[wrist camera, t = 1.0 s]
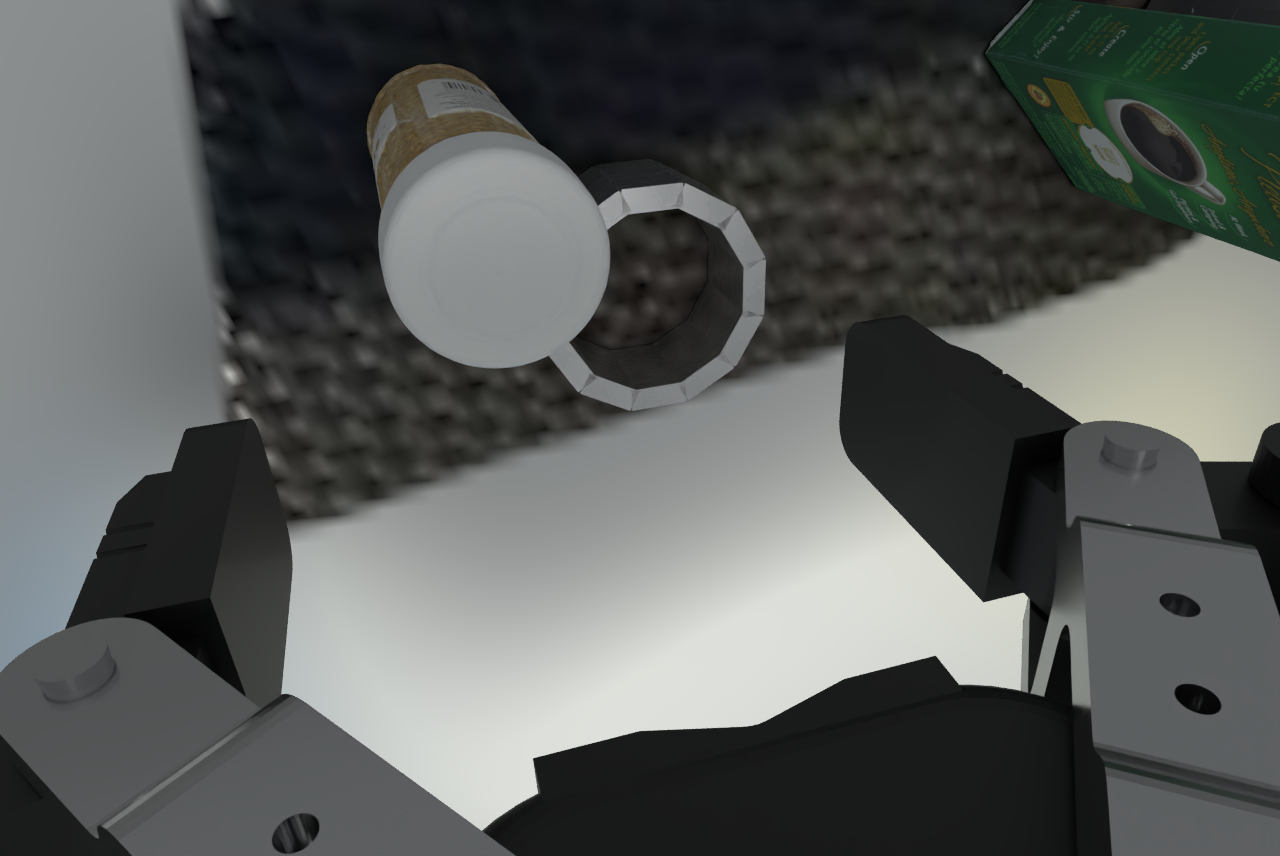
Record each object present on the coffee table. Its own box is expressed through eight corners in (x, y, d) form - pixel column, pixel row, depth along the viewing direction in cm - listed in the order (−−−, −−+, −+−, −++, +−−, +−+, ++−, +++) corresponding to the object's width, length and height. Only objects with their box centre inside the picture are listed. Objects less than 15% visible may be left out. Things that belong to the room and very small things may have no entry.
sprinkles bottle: (335, 135, 28) (328, 275, 16) (435, 27, 27) (499, 94, 16) (446, 235, 30) (505, 416, 19) (540, 137, 30) (660, 264, 18)
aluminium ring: (729, 150, 32) (768, 172, 29) (727, 350, 35) (761, 388, 32) (510, 173, 30) (528, 200, 27) (533, 381, 34) (551, 425, 31)
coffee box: (1129, 140, 36) (1472, 234, 25) (1075, 195, 37) (1387, 310, 26) (1036, -11, 32) (1398, 21, 21) (977, 53, 32) (1299, 118, 21)
